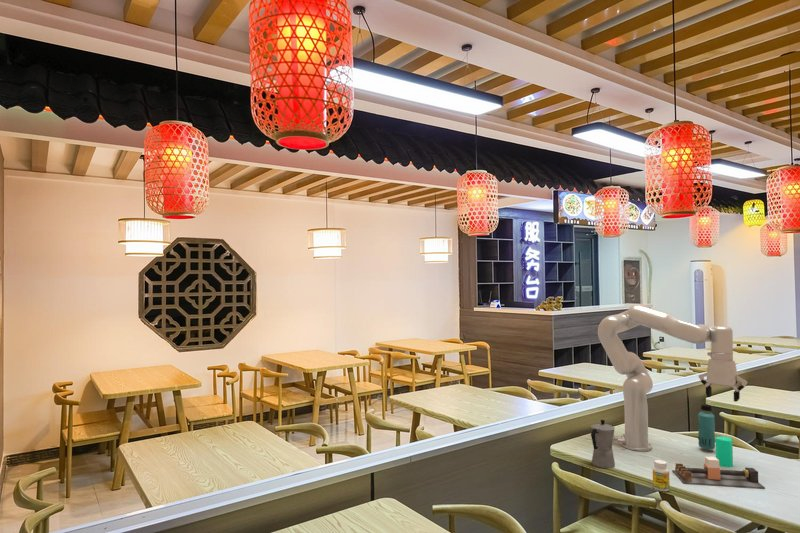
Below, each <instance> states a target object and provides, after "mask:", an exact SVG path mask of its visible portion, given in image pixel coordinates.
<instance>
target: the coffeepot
mask: <svg viewBox="0 0 800 533" xmlns="http://www.w3.org/2000/svg"><path fill="white" fill-rule="evenodd" d="M605 422H606V420H605V419H600V423H595V424H591V426H590V429H591V433H590V437H591V442H592V446H593V451H592V459H591V464H592V465H593V466H595V467H598V468H601V469H612V468H614V467H615V464H616V462H615V457H614V456H615V455H614V450H613V443H614V442H613V441H614V436H615V428H616V427H614V426H612V424H608V423H607V424H605Z"/></svg>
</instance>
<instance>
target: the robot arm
mask: <svg viewBox="0 0 800 533" xmlns="http://www.w3.org/2000/svg"><path fill="white" fill-rule="evenodd" d="M638 326H643V327H645V328H649V329H652V330H655V331H658V332H661V333H663V334H665V335H668V336H671V337H673V338H676V339H678V340H681V341H685V342H687V343H690V344H693V345H694V344H695V345H700V344H703V343H710V350H711V351H710V352H707V354H706V355H707V356H708V357H710V358H709V359H708V361H707V368H706V372H704V373H701V374H699V375H698V379H699V380H700V383H702V384H703V385H704V387H705V395H706V397H707V398H711V397H712V396H713V395H712V394H713V393H712V391H713V390H712V386H711V385H718V386H724V387H731V388H733V390H734V391H733V402H736V403H737V402H738V401H739V400H740V398H741V397H740V395H741V394H740V392H741V391H742V390H743V389H745V387H746V386H747V384H748V381H747V380H746V379H743V378H742V377H741V376H739V375H738V370H737V366H736V361H735V360H734V352H733V351H734V346H733V345H734V340H733V338H734V337H733V336H734V334H733V331H734V330H733V329H732V327H729V326H727V325H726V326H724V325H709V324H702V323H700V324H692V323H689V322H686V321H682V320H679V319H678V318H675V317H674V316H673V315H672V314H669V313H668V312H666V311H661V310H658V309H654V308H651V306H649V305H647V304H644V303H638V304H633V305H631V306H630V307H628V309H627V310H624V311H622V312H620V313H618V314H617V313H616V314H611V315H608V316H606V317H604V318H603V319H602V320H601V322H600V323H599V325H598V328H597V337H598V340H599V342H600V343H601V346H602V347H603V350H604V351H605V353H606V354H607V357H608V359H609V360H610V363H611V364H612V367H613V369H614V370H615V371H616V372H617V373H618V374H619V375H622V376H623V375H626V379H625V380H624V382H623V384H622V394H623V402H624V403H623V404H624V405H623V406H624V410H623V411H624V433H622V435H621V436H618V435H614V436H613V441H616V442H618V443H621V444H620V445H621V446H622V447H623V448H625V449H628V450H632V451H638V452H648V451H651V450H652V449H653V445H652V444H651V443H649V412H648V411H649V407H648V401H647V399H648V398H647V394H648V393H650V392H651V391H652V389H653V386H654V382H653V380H652V377H651V375H650V374H649V371H648V370H647V368H646V367H645V365H644V363H643V361H642V359H641V357H639V355H637V354H636V353H634V352H633V351H628V350H627V348H626V346H625V344H624V343H623V341H622V340H621V338H620V337H619V336H618V334H620V333H624V332H626V331H629V330H631V329H633V328H635V327H638ZM705 377H706V380H705ZM738 382H740V383H741V385H738Z"/></svg>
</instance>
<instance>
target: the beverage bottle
mask: <svg viewBox="0 0 800 533" xmlns="http://www.w3.org/2000/svg"><path fill="white" fill-rule="evenodd" d="M700 405H701V406H700V410H702V411H700V412H699V413H698V414H697V416H698V419H697V424H698V426H697V428H698V431H697V432H698V433H697V434H698V437H697V439H698V440H697V441H698V444H697V445H698V447H699V448H701V449H705V450H716V442H715V438H716V431H715V426H716V424H715V414H714V413H712V412H711V411H713V408H712V405H711V404H706V403H704V404H703V403H702V404H700Z"/></svg>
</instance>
